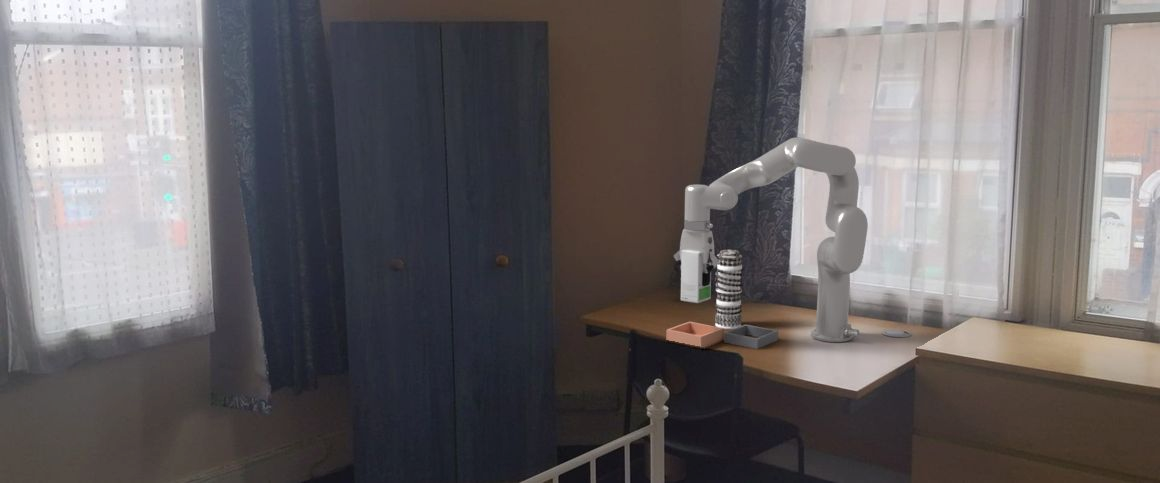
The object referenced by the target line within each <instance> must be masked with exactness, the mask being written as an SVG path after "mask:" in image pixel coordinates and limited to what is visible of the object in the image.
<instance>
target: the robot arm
mask: <svg viewBox="0 0 1160 483" xmlns="http://www.w3.org/2000/svg"><path fill="white" fill-rule="evenodd" d="M856 160H857V158H856V156H855V153H854V152H853V151H852V150H851V149H850V148H848V147H846V146H840V145H836V144H829V143H824V142H821V141H816V140H812V139H808V138H803V137H791V138H789V139H787V140H786V141H783V142H782V143H780V144H779V145H778V146H775V148H773V149H771V150H769V151H767V152H766V153H764V154H763V155H761V156H759V157H757V158H756V159H754V160H752V161H749V162H748V163H746V164H743V165H741V166H739V167H737V168H735V169H733V170H731V171H729V172H727V173H726V174H724V175H723V176H720V177H719V178H717V179H715V180H714V181H713V182H712V183H710V184H709V185H706V184H689V185H687V186H685V189H684V223H683V224H684V228H683V229H682V233H681V236H680V242H679V250H678V251H677V252H676V253H674V254H673V258H674V260H675V261H676V264H678V266H679V269H680V270H681V251H682V250H689V251H697V252H701V262H702V264H703V270H704V273H703V274H702V285H703V286H707V285H709V284H710V272H711V273H713V270H715V268H717V265H718V264H719V263H720V261H719V260H718V257H717V255H715V242H714V240H715V239H714V235H713V231H712V230H710V229H713V226H714V225H713V223H711V219H710V217H711V209H712V210H719V211H728V210H731V209H733V208H734V207H735V206H736V205H737V203H738V200H739V195H740V194H741V193H743V192H745V191H748V190H750V189H755V188H759V187H765V186H768V185H771V184H772V183H774V182H775V181H777V180H779V179H780V178H782V177H784V176H785V175H787V174H789V173H791V172H792V171H794V170H795V169H797V168H803V169H805V170H810V171H815V172H819V173H824V174H826V176H827V178H828V182H829V191H828V199H827V200H828V201H827V206H826V208H827V209H826V214H825V224H826V227H827V228H828V229H829V230H830V231H831V232H834V233H835V234H834V236H829V237H825V239H823V240H822V241H821V242H820V243H819V245H818V247H817V251H816V259H817V262H816V263H817V269H818V270H817V272H818V273H817V274H818V277H817V285H818V286H817V296H816V298H817V303H816V322H815V323H816V325H815V326H816V327H815V329H813V330H811V332H810V336H811V338H813V339H814V340H818V341H822V342H827V343H843V342H849V341H852V340H853V337H855V338H859V337H860V333H861V332H860V329H856V328H852V323H849V312H850V311H849V309H850V308H849V307H850V293H851V292H850V289H851V274H852V273H854V272H856V271H857V270H858V269H859V268H860V266H861V265H862V263H863V259H864V254H865V247H866V242H867V236H868V229H869V228H868V227H869V226H868V218H867V215H866V214H865V212H864V211H863V210H862V209H861V208H860V207H858V199H859V189H860V188H859V187H860V182H859V175H858V173H857V170H856V168H855V167H856ZM710 263H711V265H710Z"/></svg>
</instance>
